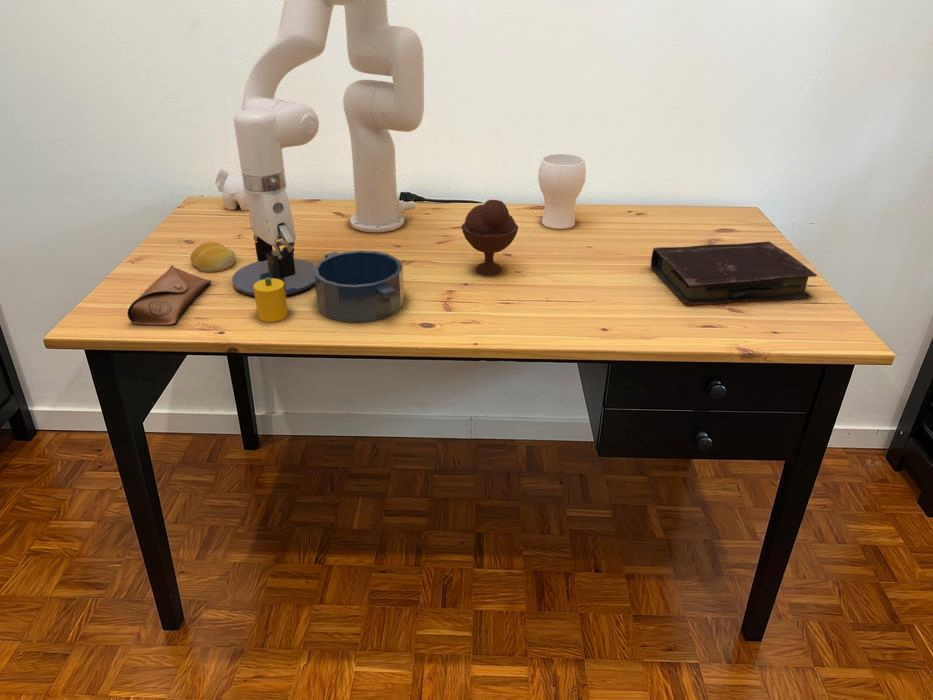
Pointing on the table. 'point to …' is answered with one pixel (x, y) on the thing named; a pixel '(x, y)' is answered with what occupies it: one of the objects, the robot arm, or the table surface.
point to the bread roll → (212, 257)
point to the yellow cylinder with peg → (270, 300)
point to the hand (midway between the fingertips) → (276, 267)
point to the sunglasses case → (166, 298)
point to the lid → (274, 275)
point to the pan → (359, 286)
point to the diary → (731, 273)
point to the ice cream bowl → (489, 233)
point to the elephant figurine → (232, 190)
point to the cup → (561, 188)
